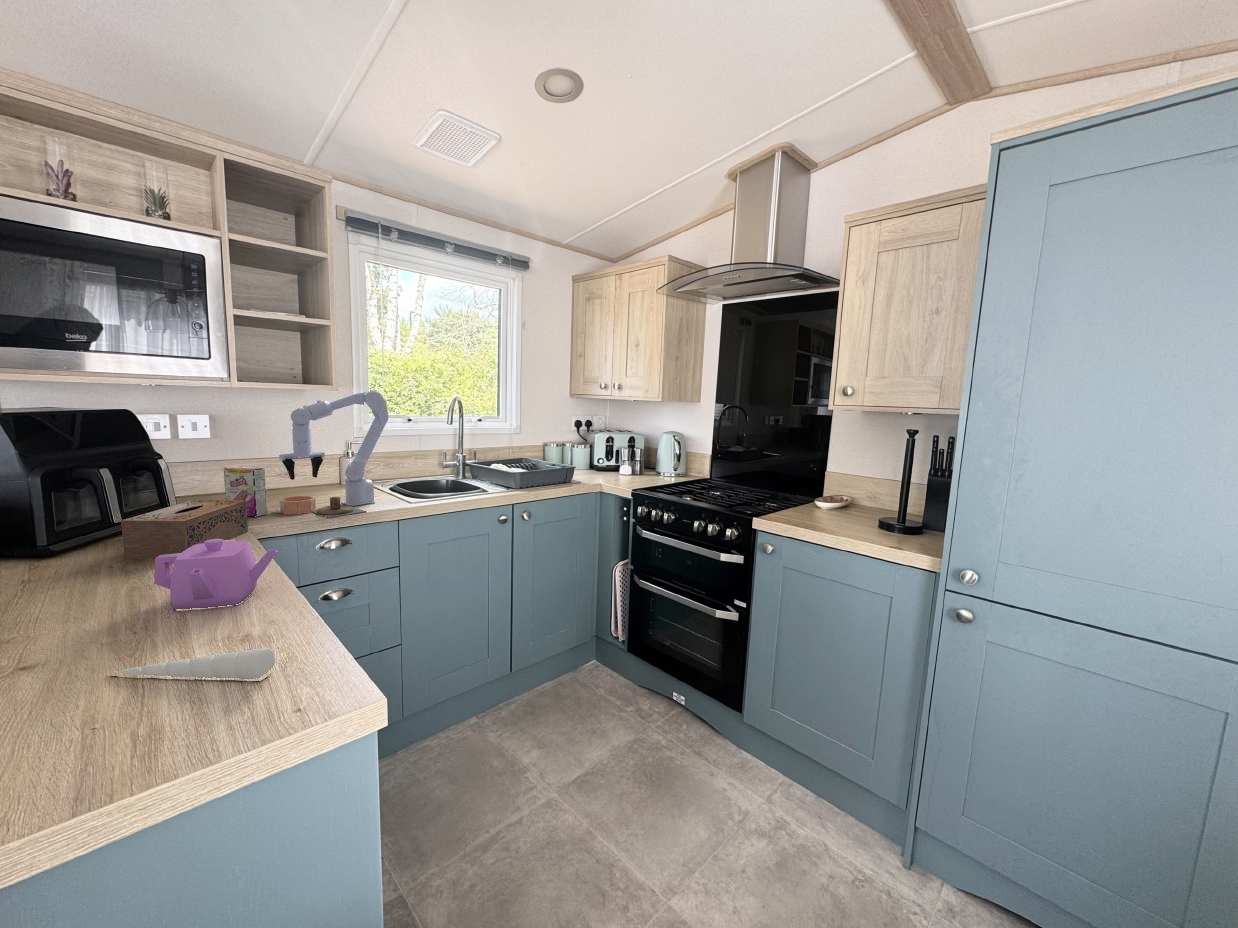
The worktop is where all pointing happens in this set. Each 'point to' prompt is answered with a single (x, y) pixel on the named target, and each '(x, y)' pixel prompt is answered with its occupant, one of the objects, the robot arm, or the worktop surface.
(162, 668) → the unicorn horn
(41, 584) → the worktop surface
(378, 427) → the robot arm
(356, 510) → the mat
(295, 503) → the bowl
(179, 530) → the tissue box cover
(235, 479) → the candy bar box
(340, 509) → the lid
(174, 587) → the teakettle
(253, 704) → the worktop surface
